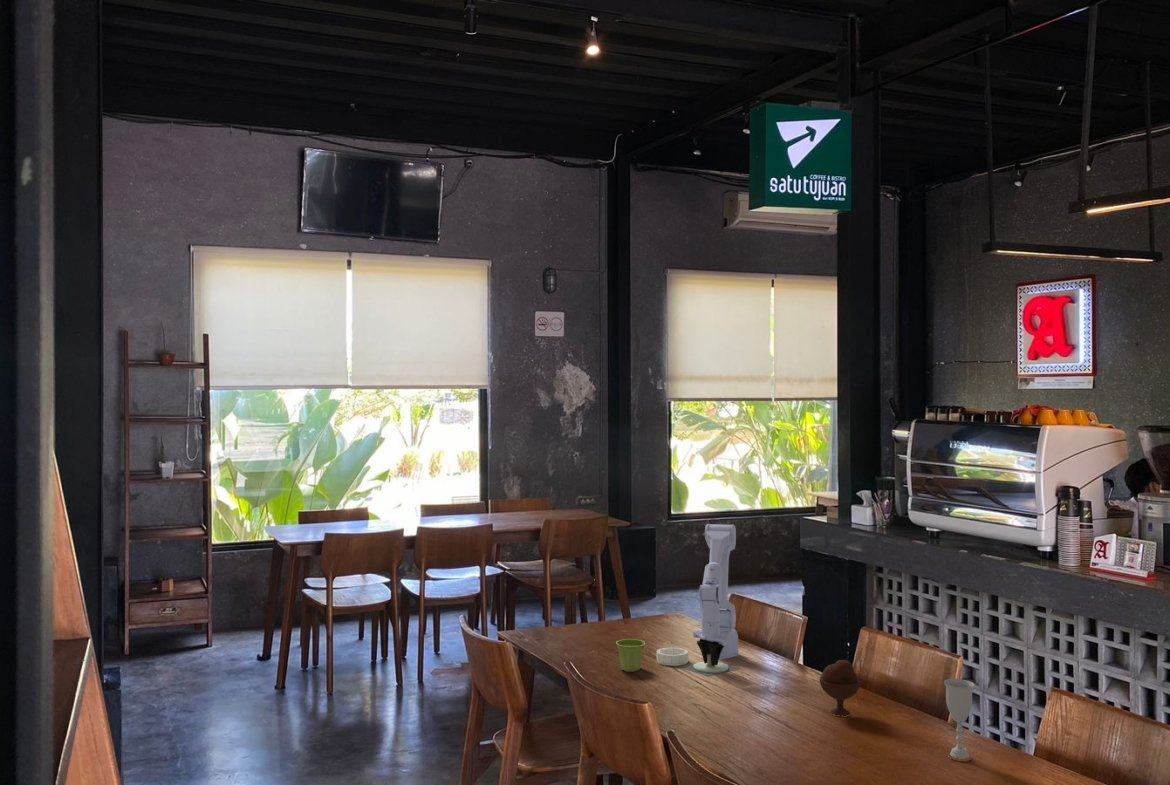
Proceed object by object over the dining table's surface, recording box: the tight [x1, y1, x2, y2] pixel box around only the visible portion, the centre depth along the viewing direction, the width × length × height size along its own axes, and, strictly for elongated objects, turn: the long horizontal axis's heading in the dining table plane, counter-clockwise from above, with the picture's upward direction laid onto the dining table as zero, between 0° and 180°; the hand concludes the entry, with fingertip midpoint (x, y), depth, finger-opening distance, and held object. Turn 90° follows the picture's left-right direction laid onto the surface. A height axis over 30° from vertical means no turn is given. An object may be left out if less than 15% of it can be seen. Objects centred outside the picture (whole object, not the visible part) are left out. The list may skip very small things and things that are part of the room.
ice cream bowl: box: [819, 659, 861, 716], centre depth 272 cm, size 11×11×15 cm
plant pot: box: [615, 638, 646, 673], centre depth 318 cm, size 9×9×9 cm
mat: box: [682, 664, 740, 677], centre depth 317 cm, size 14×12×1 cm
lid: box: [693, 654, 729, 674], centre depth 317 cm, size 11×11×4 cm
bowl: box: [655, 647, 689, 667], centre depth 326 cm, size 10×10×4 cm
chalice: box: [943, 678, 975, 759], centre depth 238 cm, size 7×7×18 cm
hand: (710, 663), depth 317 cm, fingers open, 3 cm apart
